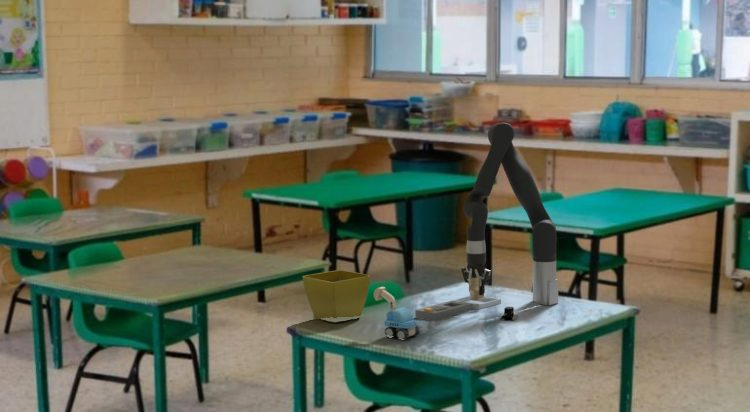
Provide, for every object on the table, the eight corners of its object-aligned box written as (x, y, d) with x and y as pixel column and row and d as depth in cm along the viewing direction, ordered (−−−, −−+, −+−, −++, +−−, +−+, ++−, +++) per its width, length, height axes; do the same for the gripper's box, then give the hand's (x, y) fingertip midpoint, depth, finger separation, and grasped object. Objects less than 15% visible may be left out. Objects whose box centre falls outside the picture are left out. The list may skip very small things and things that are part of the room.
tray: (501, 305, 497) (501, 299, 496) (479, 311, 487) (479, 304, 486) (473, 300, 506) (473, 294, 506) (451, 306, 496) (451, 300, 496)
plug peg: (484, 299, 496) (483, 277, 495) (478, 301, 493) (477, 278, 492) (476, 298, 498) (475, 275, 497) (469, 299, 496) (469, 277, 494)
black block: (515, 323, 467) (515, 311, 466) (495, 322, 469) (495, 310, 469) (521, 316, 479) (521, 304, 478) (502, 315, 481) (502, 303, 480)
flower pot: (302, 318, 479) (301, 275, 476) (341, 311, 491) (340, 269, 489) (333, 326, 464) (332, 282, 462) (372, 319, 476) (371, 275, 474)
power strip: (472, 311, 487) (471, 301, 486) (435, 321, 470) (435, 311, 470) (451, 308, 493) (451, 298, 493) (415, 317, 477) (415, 307, 477)
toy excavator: (385, 330, 457) (384, 284, 454) (421, 337, 446) (421, 289, 444) (370, 335, 450) (369, 288, 448) (406, 341, 440) (406, 293, 437)
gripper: (496, 251, 491) (497, 294, 493) (467, 248, 501) (468, 290, 503) (484, 254, 486) (485, 297, 488) (455, 251, 495) (456, 293, 497)
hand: (476, 294), depth 495 cm, fingers closed on plug peg, 4 cm apart
